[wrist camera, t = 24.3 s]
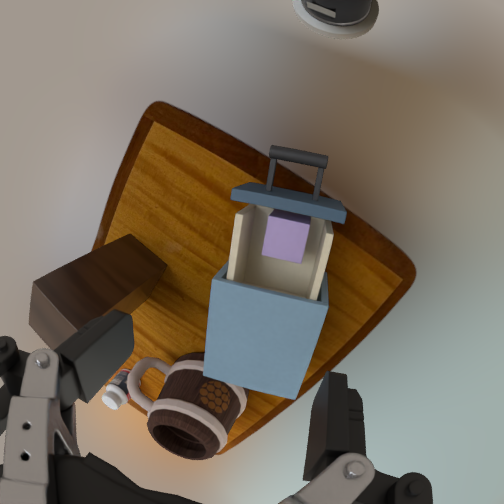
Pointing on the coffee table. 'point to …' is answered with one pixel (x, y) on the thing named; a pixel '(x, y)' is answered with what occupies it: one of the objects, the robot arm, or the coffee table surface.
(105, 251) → the stand
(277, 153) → the drawer
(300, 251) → the purple cube
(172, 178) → the coffee table surface
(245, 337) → the cabinet
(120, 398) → the pill bottle
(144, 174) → the coffee table surface
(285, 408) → the coffee table surface
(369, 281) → the coffee table surface
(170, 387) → the mug
